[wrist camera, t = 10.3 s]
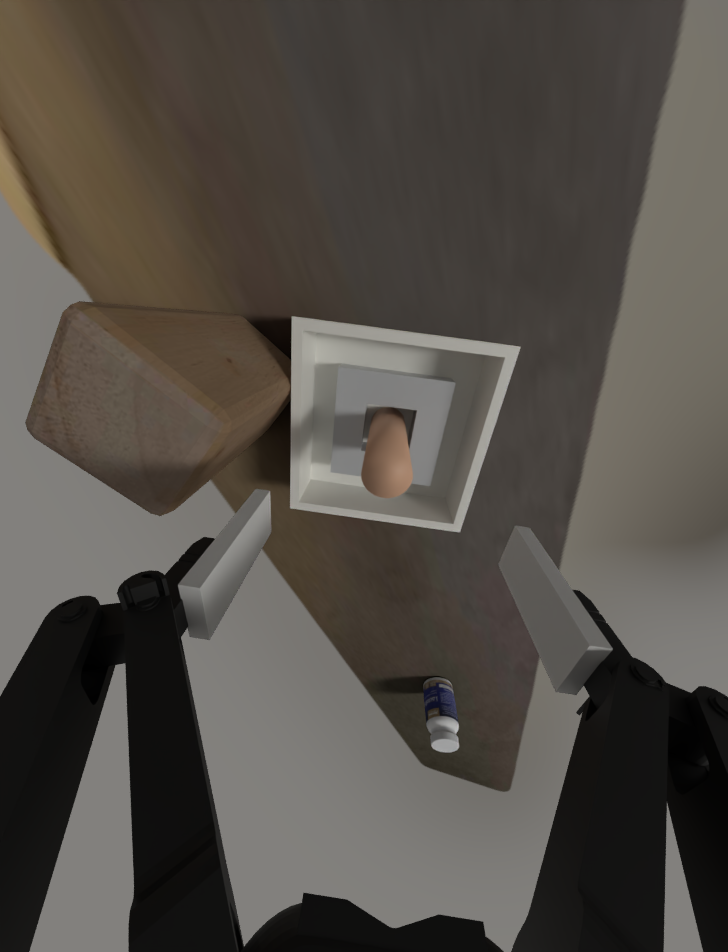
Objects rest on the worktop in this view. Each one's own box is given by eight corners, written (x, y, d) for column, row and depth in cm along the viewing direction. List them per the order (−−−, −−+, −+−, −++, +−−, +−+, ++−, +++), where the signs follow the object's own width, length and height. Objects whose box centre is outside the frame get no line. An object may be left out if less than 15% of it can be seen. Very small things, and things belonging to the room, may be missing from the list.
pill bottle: (429, 672, 58) (436, 734, 50) (456, 680, 59) (468, 743, 50) (418, 688, 61) (423, 749, 52) (444, 695, 61) (453, 757, 53)
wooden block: (311, 375, 35) (230, 425, 17) (264, 434, 39) (159, 526, 21) (239, 310, 33) (56, 290, 15) (197, 380, 36) (11, 432, 18)
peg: (373, 404, 35) (364, 448, 22) (407, 409, 35) (417, 455, 22) (368, 437, 37) (358, 494, 24) (401, 441, 37) (407, 501, 24)
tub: (310, 318, 32) (291, 316, 26) (495, 342, 32) (520, 346, 26) (305, 480, 41) (290, 508, 35) (449, 501, 41) (459, 532, 35)
